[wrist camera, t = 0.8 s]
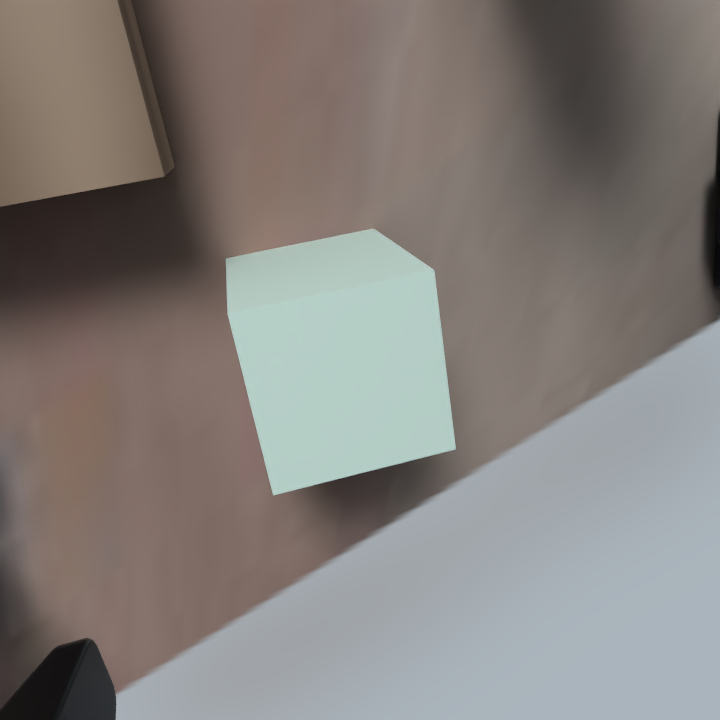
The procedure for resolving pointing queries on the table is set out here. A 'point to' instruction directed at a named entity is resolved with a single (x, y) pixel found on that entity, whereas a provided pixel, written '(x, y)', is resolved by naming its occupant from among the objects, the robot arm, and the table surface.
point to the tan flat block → (75, 100)
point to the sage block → (340, 357)
